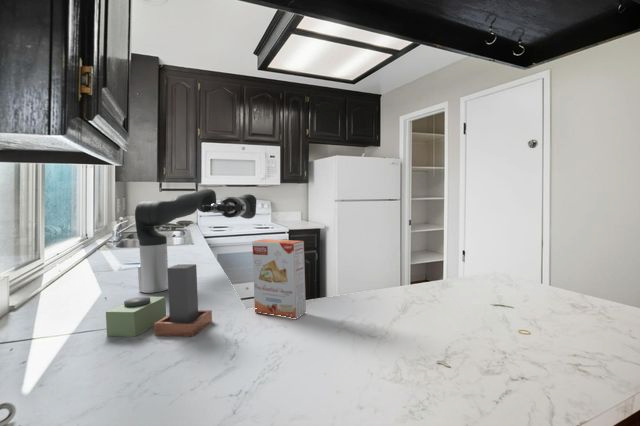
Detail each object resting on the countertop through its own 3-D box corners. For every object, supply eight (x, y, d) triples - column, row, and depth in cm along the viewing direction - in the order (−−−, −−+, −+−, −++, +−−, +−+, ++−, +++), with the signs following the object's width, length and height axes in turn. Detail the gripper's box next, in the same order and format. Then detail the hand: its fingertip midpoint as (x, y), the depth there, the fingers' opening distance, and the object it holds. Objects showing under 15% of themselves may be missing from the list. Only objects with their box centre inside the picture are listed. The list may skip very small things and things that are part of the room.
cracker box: (253, 313, 96) (251, 240, 95) (266, 307, 101) (264, 238, 101) (295, 320, 90) (293, 242, 89) (306, 313, 95) (304, 239, 94)
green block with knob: (107, 335, 83) (105, 307, 83) (141, 317, 96) (140, 293, 95) (135, 336, 82) (133, 308, 82) (166, 317, 95) (165, 293, 94)
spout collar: (154, 335, 82) (154, 323, 82) (177, 320, 92) (176, 309, 92) (193, 336, 81) (192, 324, 81) (212, 321, 91) (211, 310, 91)
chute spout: (170, 331, 84) (167, 268, 84) (181, 324, 89) (178, 264, 89) (188, 332, 84) (186, 268, 83) (198, 324, 89) (196, 264, 88)
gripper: (251, 216, 130) (235, 219, 114) (216, 217, 132) (195, 220, 116) (250, 197, 130) (234, 196, 114) (215, 198, 132) (194, 198, 116)
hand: (215, 208), depth 115 cm, fingers open, 8 cm apart
